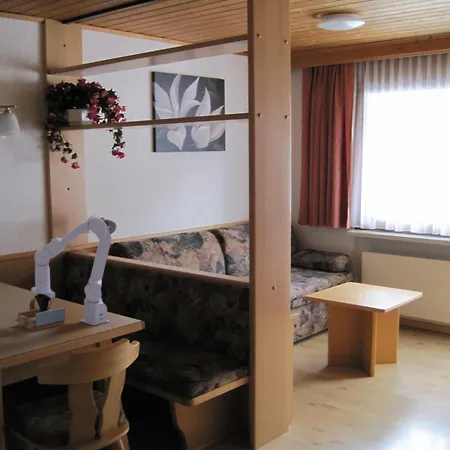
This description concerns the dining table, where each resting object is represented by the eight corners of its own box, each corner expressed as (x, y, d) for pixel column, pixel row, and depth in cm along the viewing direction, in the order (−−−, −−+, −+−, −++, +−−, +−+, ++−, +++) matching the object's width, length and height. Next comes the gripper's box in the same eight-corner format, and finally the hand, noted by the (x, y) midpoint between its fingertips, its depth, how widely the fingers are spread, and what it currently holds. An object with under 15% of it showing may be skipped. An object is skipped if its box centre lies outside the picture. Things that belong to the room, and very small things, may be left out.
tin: (35, 319, 263) (34, 299, 262) (28, 318, 264) (27, 299, 263) (52, 310, 278) (51, 291, 277) (45, 309, 279) (45, 291, 277)
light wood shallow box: (64, 323, 257) (64, 311, 256) (34, 330, 247) (33, 318, 246) (48, 318, 265) (48, 306, 264) (18, 324, 255) (18, 312, 254)
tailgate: (65, 320, 255) (64, 307, 255) (36, 326, 246) (36, 313, 245) (64, 319, 256) (63, 307, 255) (35, 326, 246) (35, 313, 246)
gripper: (24, 278, 254) (25, 310, 256) (43, 283, 244) (44, 317, 246) (39, 275, 259) (40, 307, 261) (59, 280, 250) (60, 313, 251)
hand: (43, 312), depth 254 cm, fingers closed
